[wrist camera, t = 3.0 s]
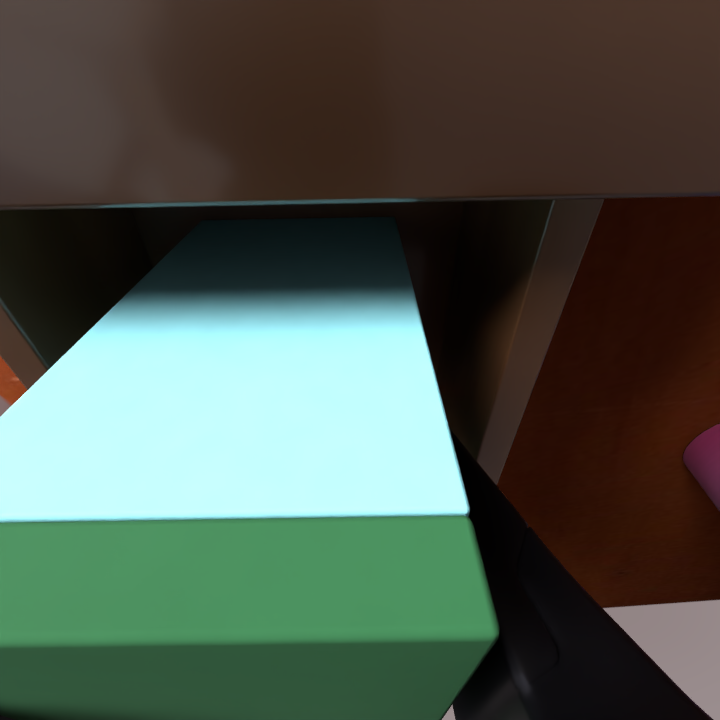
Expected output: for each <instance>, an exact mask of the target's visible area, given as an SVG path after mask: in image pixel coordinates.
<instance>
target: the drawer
mask: <svg viewBox="0 0 720 720" xmlns="http://www.w3.org/2000/svg"><path fill="white" fill-rule="evenodd" d="M603 202H604V199H565V200H514V201H462V202H410V203H359V204H307V205H255V206H204V207H152V208H100V209H49V210H0V356H1V357H2V358H3V360H4V361H5V362H6V363H7V365H8V366H9V367H10V368H11V370H12V371H13V372H14V373H15V375H16V376H17V377H18V378H19V380H20V381H21V382H22V384H23V385H24V386H25V387H26V389H27V390H29V389H30V388H31V387H32V386H33V385H34V384H35V383H36V382H37V381H38V380H39V379H40V378H41V377H42V376H43V375H44V374H45V373H46V372H47V371H48V370H49V369H50V368H51V367H52V366H53V365H54V364H55V363H56V362H57V361H58V360H59V359H60V358H61V357H62V356H64V355H65V354H66V353H67V352H68V351H69V350H70V349H71V348H72V347H73V346H74V345H75V344H76V343H77V342H78V341H79V340H80V339H81V338H82V337H83V336H84V335H85V334H86V333H87V332H88V331H89V330H90V329H91V328H92V327H93V326H94V325H95V324H96V323H97V322H98V321H99V320H100V319H101V318H102V317H103V316H104V315H106V314H107V313H108V312H109V311H110V310H111V309H112V308H113V307H114V306H115V305H116V304H117V303H118V302H119V301H120V300H121V299H122V298H123V297H124V296H125V295H126V294H127V293H128V292H129V291H130V290H131V289H132V288H133V287H134V286H135V285H136V284H137V283H138V282H139V281H140V280H141V279H142V278H143V277H144V276H145V275H146V274H148V273H149V272H150V271H151V270H152V269H153V268H154V267H155V266H156V265H157V264H158V263H159V262H160V261H161V260H162V259H163V258H164V257H165V256H166V255H167V254H168V253H169V252H170V251H171V250H172V249H173V248H174V247H175V246H176V245H177V244H178V243H179V242H180V241H181V240H182V239H183V238H184V237H185V236H186V235H187V234H188V233H190V232H191V231H192V230H193V229H194V228H195V227H196V226H197V225H198V224H199V223H200V222H201V221H202V220H248V219H300V218H353V217H395V220H396V224H397V227H398V231H399V235H400V239H401V243H402V247H403V251H404V255H405V258H406V262H407V266H408V270H409V274H410V278H411V282H412V285H413V289H414V293H415V297H416V301H417V305H418V309H419V313H420V316H421V320H422V324H423V328H424V332H425V336H426V340H427V343H428V347H429V351H430V355H431V359H432V363H433V367H434V371H435V374H436V378H437V382H438V386H439V390H440V394H441V398H442V402H443V405H444V409H445V413H446V417H447V421H448V425H449V428H450V429H451V430H452V431H453V433H454V434H455V435H456V436H457V438H458V439H459V440H460V441H461V443H462V444H463V445H464V446H465V447H466V449H467V450H468V451H469V452H470V454H471V455H472V456H473V457H474V458H475V460H476V461H477V462H478V463H479V465H480V466H481V467H482V468H483V469H484V471H485V472H486V473H487V474H488V476H489V477H490V478H491V479H492V480H493V482H494V483H495V484H496V485H497V483H498V480H499V478H500V475H501V472H502V470H503V467H504V464H505V462H506V459H507V456H508V454H509V451H510V448H511V446H512V443H513V441H514V438H515V435H516V433H517V430H518V427H519V425H520V422H521V419H522V417H523V414H524V411H525V409H526V406H527V403H528V401H529V398H530V395H531V393H532V390H533V387H534V385H535V382H536V380H537V377H538V374H539V372H540V369H541V366H542V364H543V361H544V358H545V356H546V353H547V350H548V348H549V345H550V342H551V340H552V337H553V334H554V332H555V329H556V326H557V324H558V321H559V318H560V316H561V313H562V311H563V308H564V305H565V303H566V300H567V297H568V295H569V292H570V289H571V287H572V284H573V281H574V279H575V276H576V273H577V271H578V268H579V265H580V263H581V260H582V257H583V255H584V252H585V250H586V247H587V244H588V242H589V239H590V236H591V234H592V231H593V228H594V226H595V223H596V220H597V218H598V215H599V212H600V210H601V207H602V204H603Z"/></svg>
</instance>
